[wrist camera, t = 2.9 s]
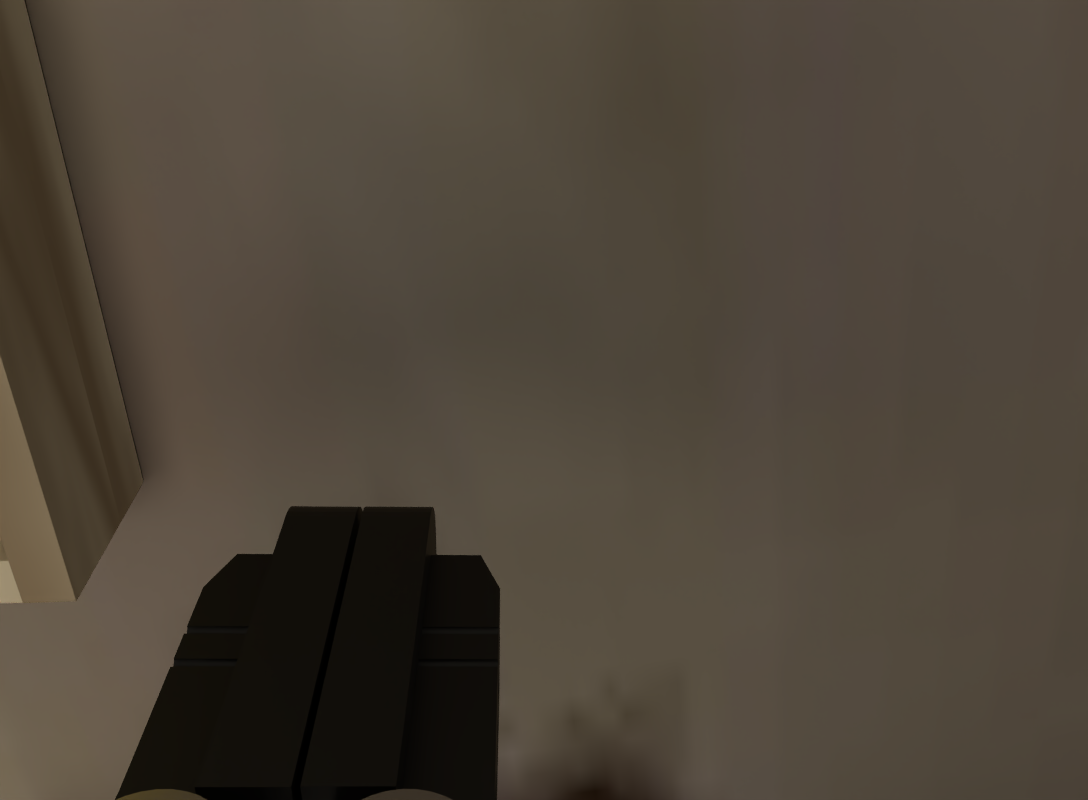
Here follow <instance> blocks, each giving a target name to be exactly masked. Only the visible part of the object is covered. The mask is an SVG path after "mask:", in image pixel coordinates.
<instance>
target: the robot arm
mask: <svg viewBox="0 0 1088 800" xmlns="http://www.w3.org/2000/svg"><path fill="white" fill-rule="evenodd" d="M499 659H500V588H499V586H498V584H497V583H496V581H495V579H494V577H493V576H492V574H491V572H490V571H489V569H488V567H487V565H486V564H485V562H484V560H483V558H482V557H481V555H436V527H435V513H434V508H433V507H365V508H364V510H363V511H362V508H361V507H309V506H292V507H290V508H289V510H288V512H287V514H286V517H285V520H284V523H283V526H282V529H281V532H280V535H279V538H278V541H277V544H276V547H275V550H274V553H273V554H237V555H236V556H235V557H234V558H233V559H232V560H231V561H230V562H229V563H228V564H227V565H226V566H225V567H224V568H223V569H222V570H221V571H219V572H218V573H217V574H216V575H215V576H214V577H213V578H212V579H211V580H210V581H209V582H208V583H207V584H206V585H205V586H204V587H203V589H202V592H201V594H200V597H199V599H198V601H197V604H196V606H195V609H194V611H193V613H192V616H191V618H190V621H189V623H188V626H187V634H184V635H183V638H182V640H181V643H180V645H179V647H178V650H177V652H176V655H175V657H174V666H173V667H170V669H169V672H168V674H167V676H166V679H165V681H164V684H163V686H162V688H161V691H160V693H159V696H158V698H157V701H156V703H155V705H154V708H153V710H152V713H151V715H150V718H149V720H148V722H147V725H146V727H145V730H144V732H143V734H142V737H141V739H140V742H139V744H138V747H137V749H136V751H135V754H134V756H133V759H132V761H131V763H130V766H129V768H128V771H127V773H126V776H125V778H124V780H123V783H122V785H121V788H120V790H119V792H118V794H117V796H116V798H115V800H497V772H498V730H499Z"/></svg>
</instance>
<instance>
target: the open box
mask: <svg viewBox="0 0 1088 800" xmlns="http://www.w3.org/2000/svg"><path fill="white" fill-rule="evenodd" d="M142 484H143V478H142V474H141V470H140V466H139V462H138V458H137V454H136V450H135V446H134V442H133V438H132V434H131V430H130V425H129V421H128V417H127V413H126V409H125V405H124V401H123V397H122V393H121V389H120V385H119V381H118V377H117V373H116V369H115V365H114V361H113V357H112V353H111V349H110V345H109V340H108V336H107V332H106V328H105V324H104V320H103V316H102V312H101V308H100V304H99V300H98V296H97V292H96V288H95V284H94V280H93V276H92V272H91V268H90V264H89V259H88V255H87V251H86V247H85V243H84V239H83V235H82V231H81V227H80V223H79V219H78V215H77V211H76V207H75V203H74V199H73V195H72V191H71V187H70V183H69V179H68V174H67V170H66V166H65V162H64V158H63V154H62V150H61V146H60V142H59V138H58V134H57V130H56V126H55V122H54V118H53V114H52V110H51V106H50V102H49V98H48V93H47V89H46V85H45V81H44V77H43V73H42V69H41V65H40V61H39V57H38V53H37V49H36V45H35V41H34V37H33V33H32V29H31V25H30V21H29V17H28V13H27V8H26V4H25V0H0V603H32V602H71V601H77V599H78V597H79V596H80V594H81V592H82V590H83V588H84V587H85V585H86V583H87V581H88V580H89V578H90V576H91V574H92V572H93V571H94V569H95V567H96V565H97V564H98V562H99V560H100V558H101V556H102V555H103V553H104V551H105V549H106V548H107V546H108V544H109V542H110V540H111V539H112V537H113V535H114V533H115V532H116V530H117V528H118V526H119V524H120V523H121V521H122V519H123V517H124V516H125V514H126V512H127V510H128V508H129V507H130V505H131V503H132V501H133V500H134V498H135V496H136V494H137V492H138V491H139V489H140V487H141V485H142Z"/></svg>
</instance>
